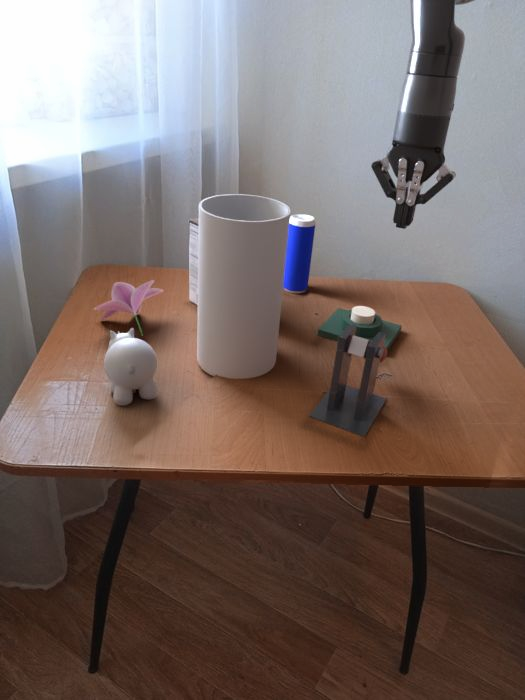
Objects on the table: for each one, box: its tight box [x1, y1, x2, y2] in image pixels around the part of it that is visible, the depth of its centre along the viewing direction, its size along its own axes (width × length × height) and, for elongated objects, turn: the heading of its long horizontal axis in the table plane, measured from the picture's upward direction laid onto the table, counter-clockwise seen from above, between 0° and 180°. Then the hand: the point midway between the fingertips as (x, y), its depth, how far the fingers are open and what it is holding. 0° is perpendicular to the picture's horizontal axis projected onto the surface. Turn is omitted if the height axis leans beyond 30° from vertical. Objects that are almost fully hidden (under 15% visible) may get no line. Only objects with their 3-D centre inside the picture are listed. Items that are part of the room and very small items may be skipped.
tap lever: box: [348, 335, 388, 364], centre depth 79 cm, size 14×4×4 cm, turn 152°
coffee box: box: [188, 217, 199, 306], centre depth 103 cm, size 9×6×16 cm
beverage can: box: [283, 213, 316, 294], centre depth 111 cm, size 5×5×15 cm
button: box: [350, 305, 376, 325], centre depth 97 cm, size 4×4×2 cm
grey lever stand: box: [308, 324, 387, 438], centre depth 76 cm, size 10×8×13 cm
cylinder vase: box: [196, 193, 291, 380], centre depth 83 cm, size 12×12×25 cm
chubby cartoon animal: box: [103, 327, 159, 406], centre depth 80 cm, size 7×12×8 cm, turn 22°
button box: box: [317, 307, 402, 352], centre depth 98 cm, size 12×10×4 cm
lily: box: [92, 279, 165, 337], centre depth 95 cm, size 12×12×10 cm
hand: (401, 226), depth 89 cm, fingers closed
